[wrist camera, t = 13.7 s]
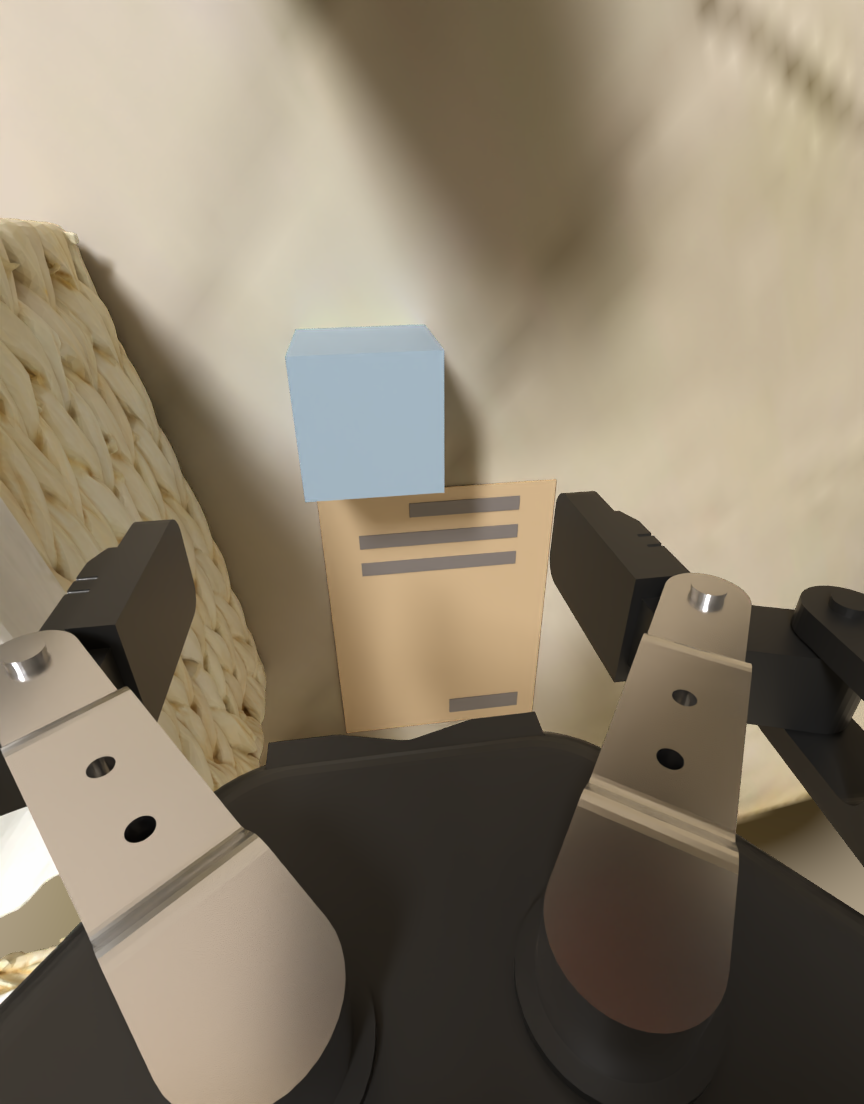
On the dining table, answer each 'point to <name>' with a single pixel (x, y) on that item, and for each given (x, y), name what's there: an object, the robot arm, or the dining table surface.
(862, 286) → the dining table surface
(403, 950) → the robot arm
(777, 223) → the dining table surface
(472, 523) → the letter
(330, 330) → the slate cube
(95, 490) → the storage basket
